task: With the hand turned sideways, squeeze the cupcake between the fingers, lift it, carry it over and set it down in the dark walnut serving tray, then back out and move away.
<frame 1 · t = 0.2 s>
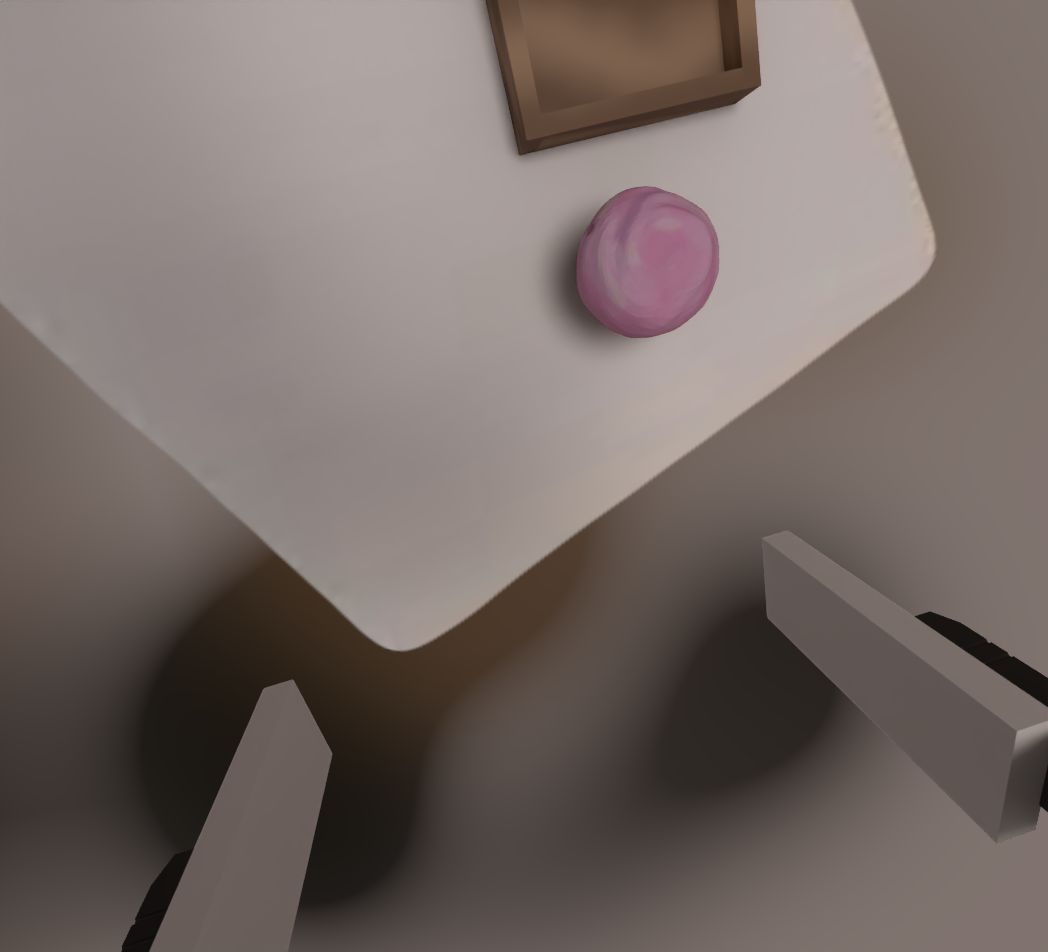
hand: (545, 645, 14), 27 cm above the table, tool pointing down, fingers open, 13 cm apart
cupcake: (611, 274, 38), on the table
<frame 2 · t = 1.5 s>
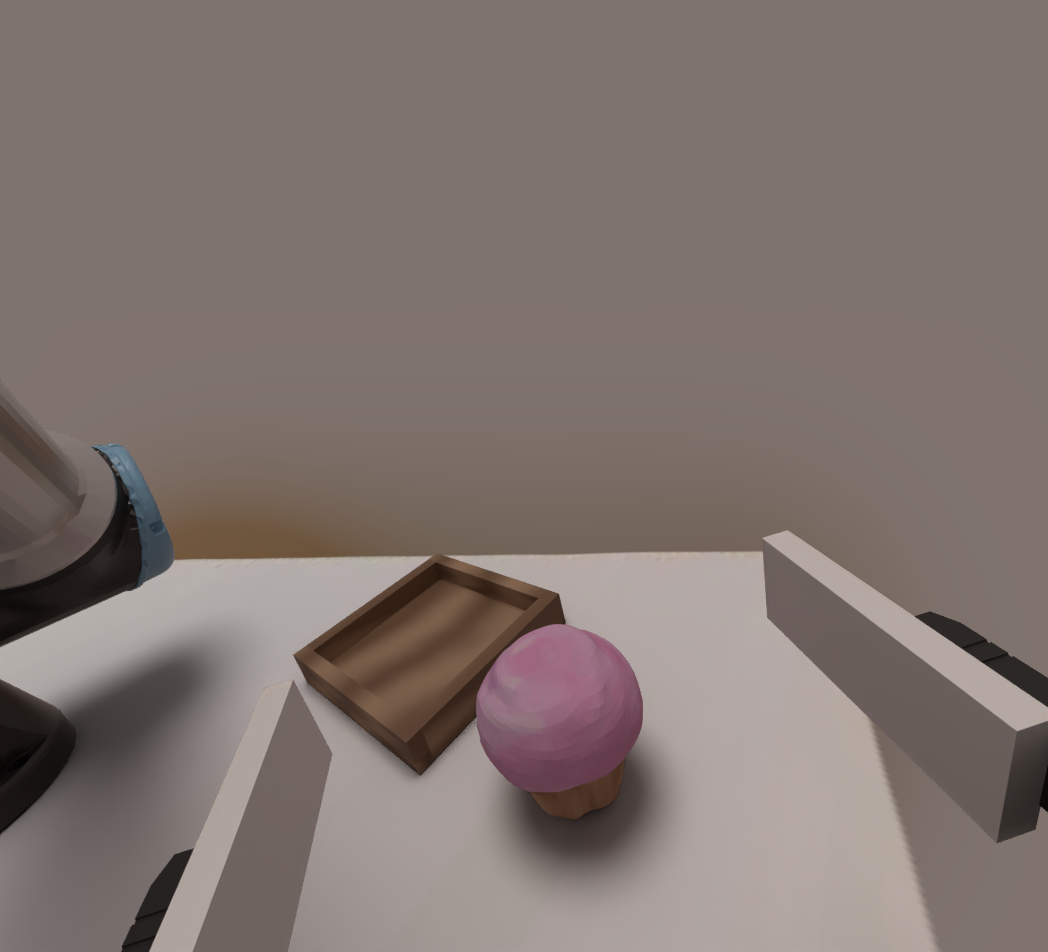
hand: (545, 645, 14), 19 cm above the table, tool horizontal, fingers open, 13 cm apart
serving tray: (435, 652, 43), on the table
cupcake: (578, 785, 30), on the table
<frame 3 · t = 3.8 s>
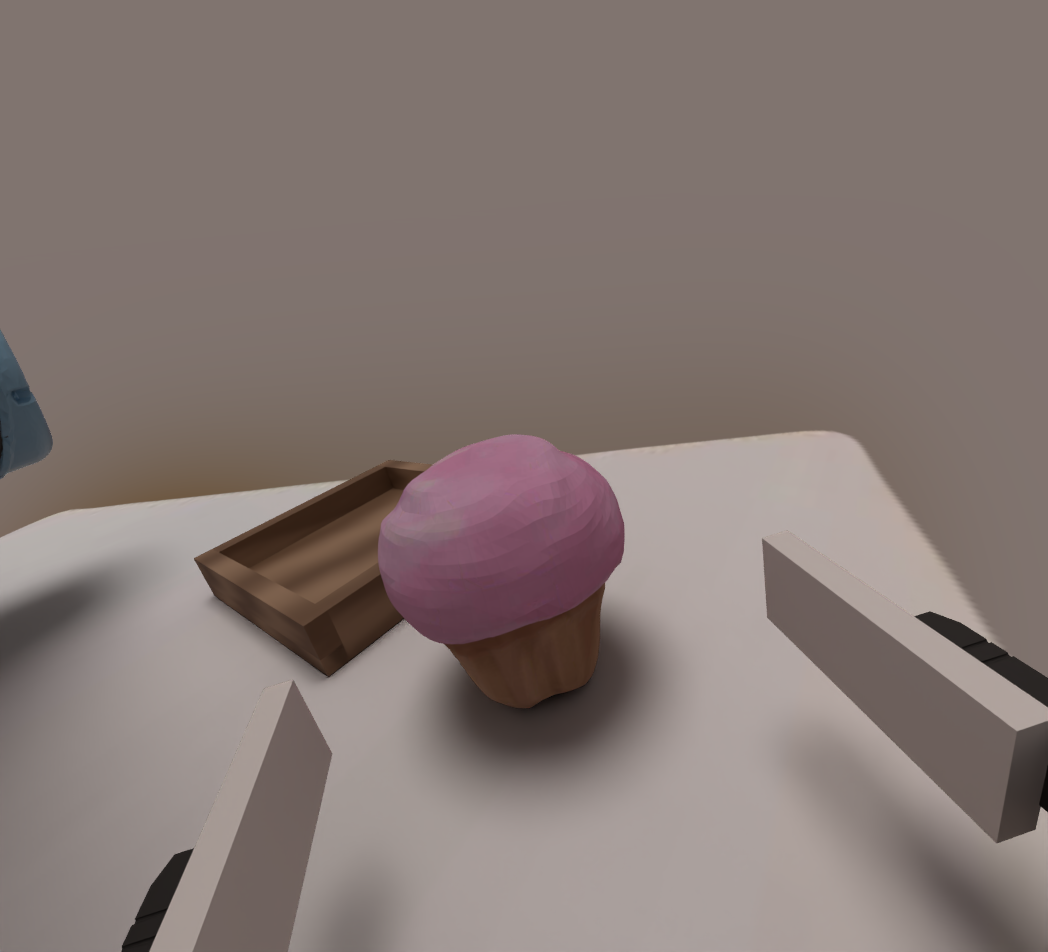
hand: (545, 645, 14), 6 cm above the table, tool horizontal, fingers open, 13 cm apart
serving tray: (375, 555, 34), on the table
cupcake: (540, 673, 21), on the table
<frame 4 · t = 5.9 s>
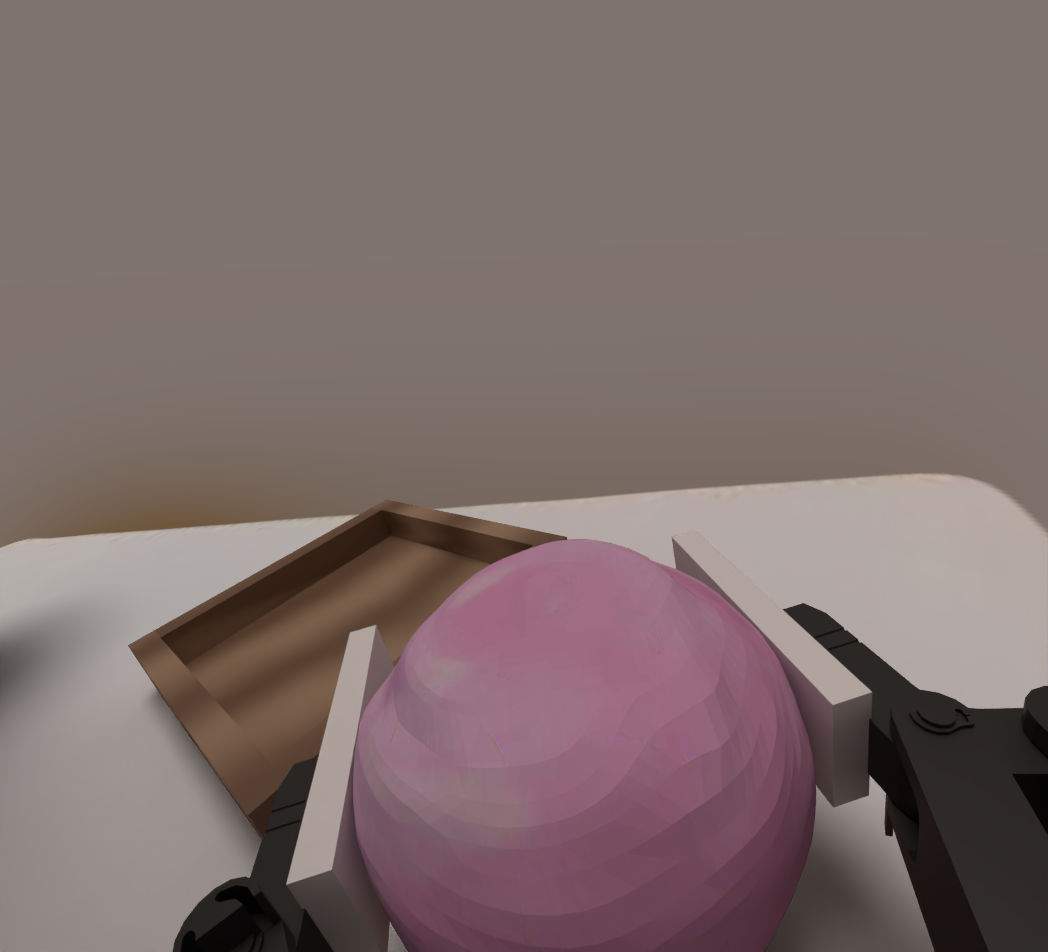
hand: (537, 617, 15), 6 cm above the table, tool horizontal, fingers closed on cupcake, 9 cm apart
serving tray: (366, 638, 26), on the table
cupcake: (622, 915, 13), on the table, touching gripper
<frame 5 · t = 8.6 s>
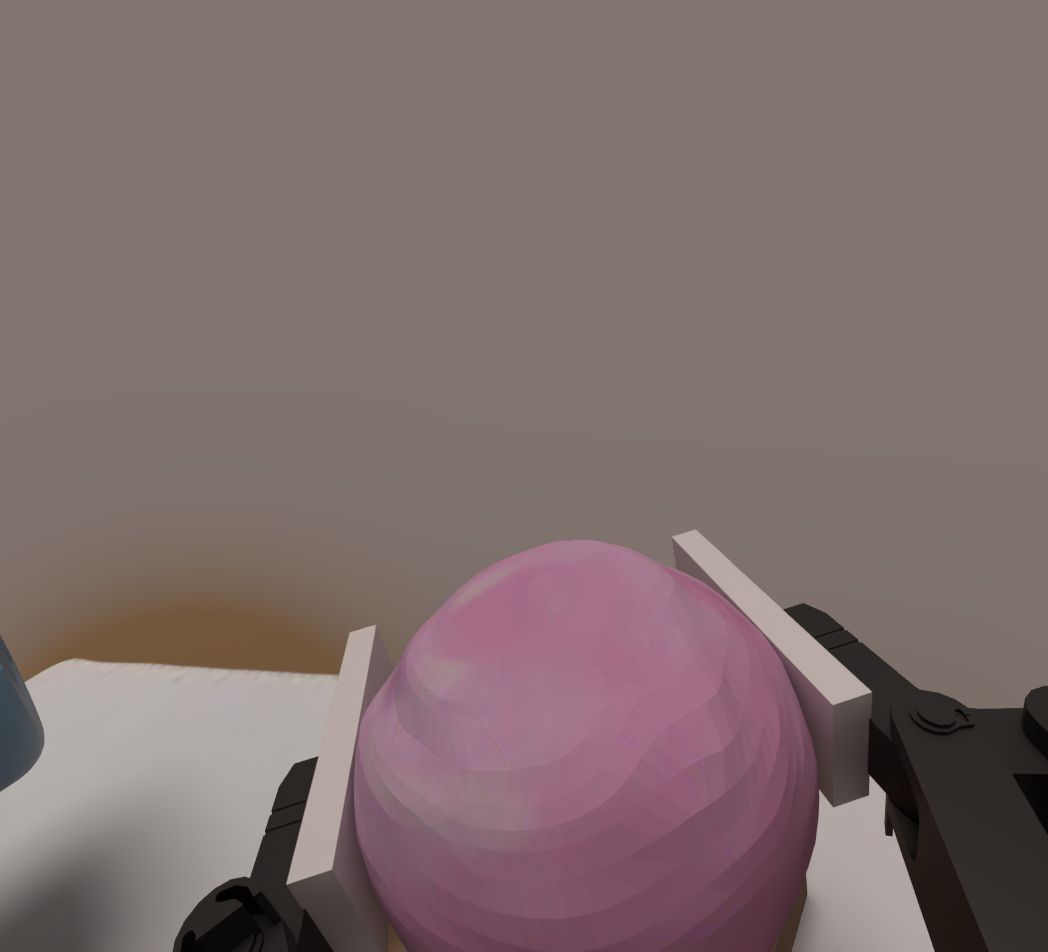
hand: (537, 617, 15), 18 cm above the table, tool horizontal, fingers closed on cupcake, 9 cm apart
cupcake: (623, 917, 13), point 11 cm above the table, touching gripper
when the fingers open (8 cm above the table, at t = 11.3 s): cupcake drops 1 cm, resting on serving tray.
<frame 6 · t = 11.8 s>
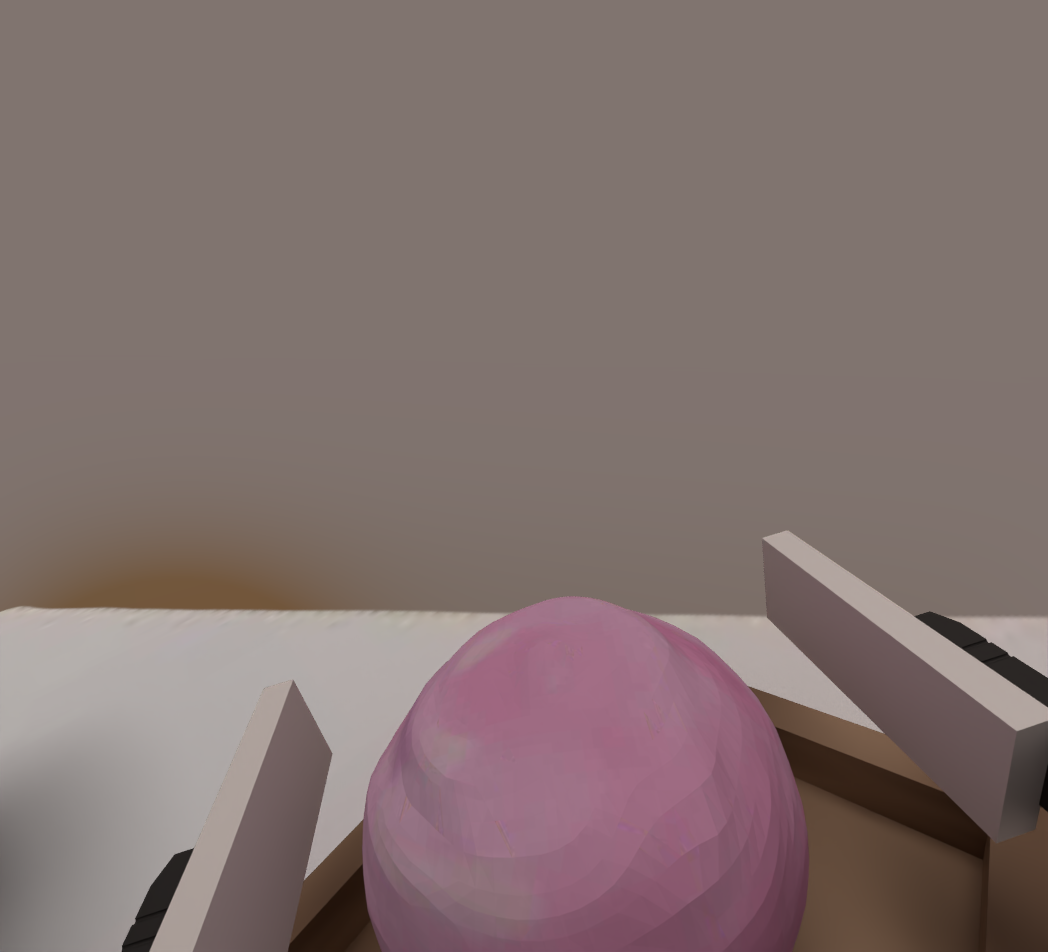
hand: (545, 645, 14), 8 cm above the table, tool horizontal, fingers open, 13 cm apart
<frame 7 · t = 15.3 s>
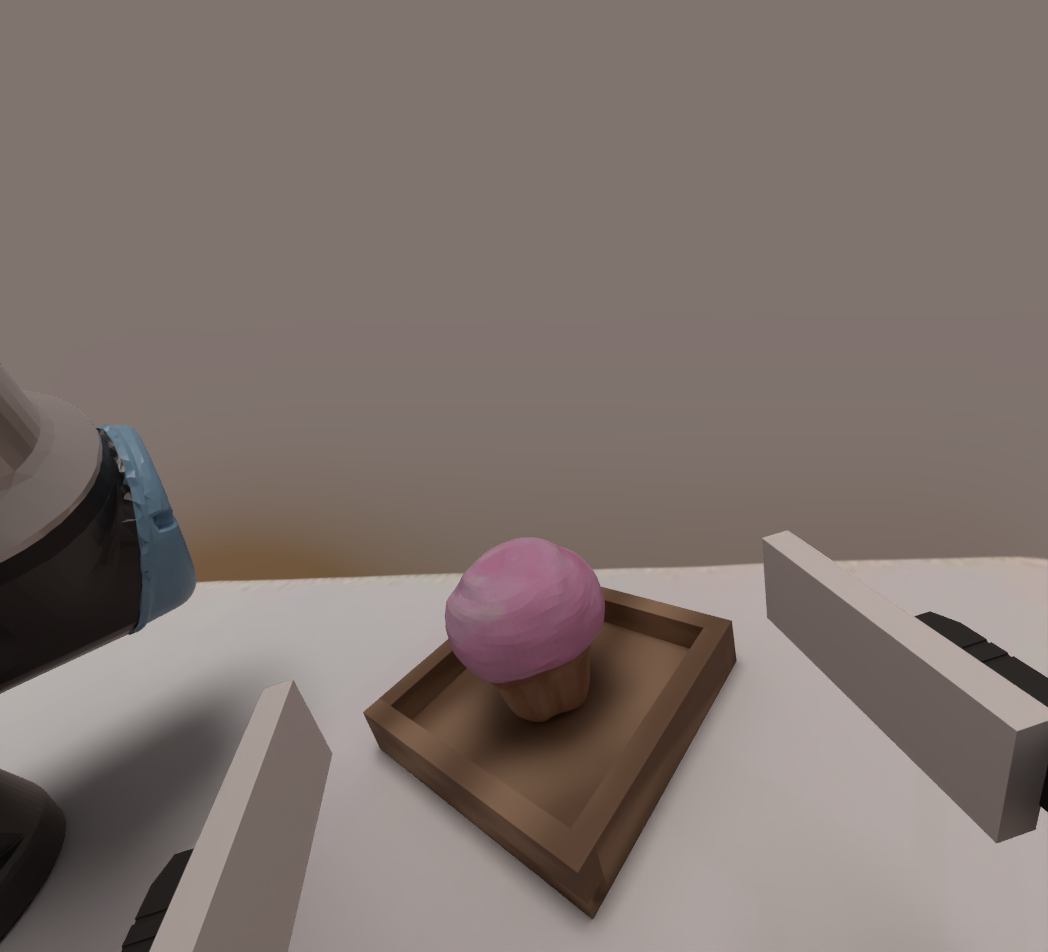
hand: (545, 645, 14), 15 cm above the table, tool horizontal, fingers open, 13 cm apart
serving tray: (556, 704, 31), on the table
cupcake: (550, 697, 31), point 1 cm above the table, touching serving tray
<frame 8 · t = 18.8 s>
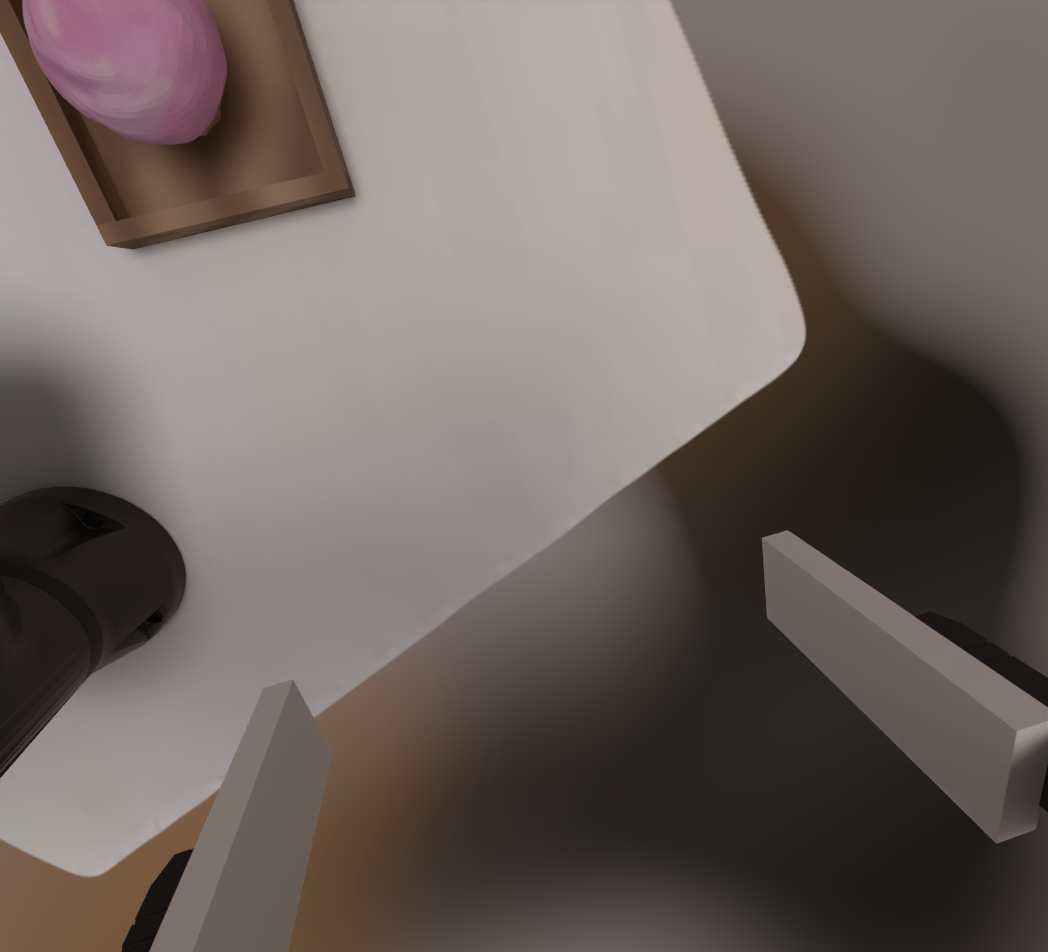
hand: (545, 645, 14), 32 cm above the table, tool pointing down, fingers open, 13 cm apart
serving tray: (193, 89, 33), on the table
cupcake: (188, 91, 33), point 1 cm above the table, touching serving tray
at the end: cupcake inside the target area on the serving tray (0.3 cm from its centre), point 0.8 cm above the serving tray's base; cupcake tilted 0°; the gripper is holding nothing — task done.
